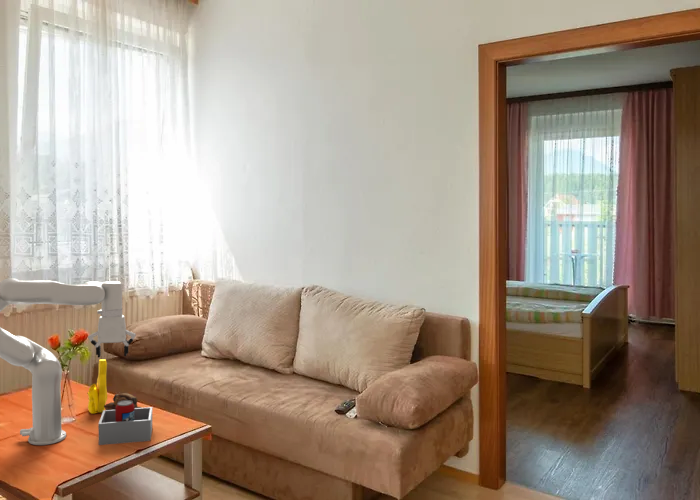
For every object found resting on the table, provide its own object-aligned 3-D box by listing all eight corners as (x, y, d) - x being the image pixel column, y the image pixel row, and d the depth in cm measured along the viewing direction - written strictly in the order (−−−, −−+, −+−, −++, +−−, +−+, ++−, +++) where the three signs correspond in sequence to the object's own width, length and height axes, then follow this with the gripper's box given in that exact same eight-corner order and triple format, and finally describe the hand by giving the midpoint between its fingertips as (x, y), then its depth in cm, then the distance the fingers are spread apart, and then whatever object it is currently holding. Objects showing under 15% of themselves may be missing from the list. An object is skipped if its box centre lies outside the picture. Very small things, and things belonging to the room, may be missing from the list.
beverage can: (128, 437, 220) (128, 406, 219) (111, 435, 221) (111, 404, 220) (138, 430, 226) (137, 400, 225) (122, 428, 228) (121, 398, 227)
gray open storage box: (98, 445, 215) (98, 423, 214) (103, 430, 228) (103, 410, 227) (150, 440, 220) (150, 420, 219) (152, 426, 233) (152, 407, 232)
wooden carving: (101, 418, 240) (101, 394, 239) (107, 414, 245) (107, 391, 244) (138, 421, 238) (138, 397, 237) (144, 417, 242) (144, 394, 241)
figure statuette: (84, 406, 253) (83, 356, 251) (103, 403, 257) (103, 354, 256) (91, 420, 238) (90, 367, 236) (111, 416, 243) (111, 364, 241)
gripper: (86, 315, 223) (87, 359, 224) (134, 314, 228) (135, 357, 229) (89, 311, 230) (90, 354, 232) (136, 310, 235) (136, 352, 236)
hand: (112, 356), depth 230 cm, fingers open, 9 cm apart
